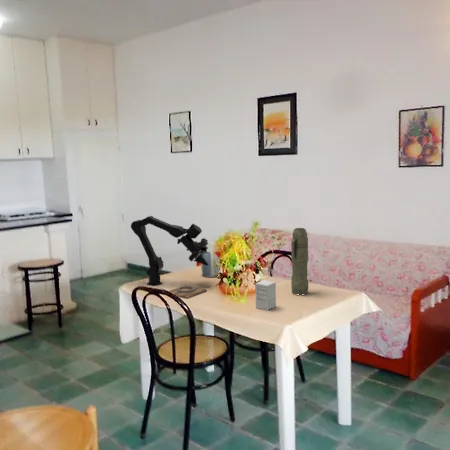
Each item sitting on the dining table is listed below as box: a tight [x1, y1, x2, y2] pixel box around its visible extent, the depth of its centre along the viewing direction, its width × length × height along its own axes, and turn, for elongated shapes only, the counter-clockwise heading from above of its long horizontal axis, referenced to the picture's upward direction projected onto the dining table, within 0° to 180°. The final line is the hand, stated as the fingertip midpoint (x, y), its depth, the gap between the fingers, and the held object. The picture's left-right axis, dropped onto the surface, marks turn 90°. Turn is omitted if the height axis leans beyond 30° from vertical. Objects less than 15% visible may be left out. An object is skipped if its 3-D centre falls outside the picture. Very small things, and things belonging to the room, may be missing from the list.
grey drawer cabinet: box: [255, 279, 277, 311], centre depth 239 cm, size 7×7×13 cm
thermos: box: [290, 227, 309, 296], centre depth 260 cm, size 9×12×35 cm
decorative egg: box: [200, 251, 221, 278], centre depth 303 cm, size 12×12×15 cm
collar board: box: [169, 284, 208, 300], centre depth 268 cm, size 16×16×2 cm
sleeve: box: [201, 251, 212, 277], centre depth 277 cm, size 5×5×13 cm
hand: (208, 264), depth 277 cm, fingers closed on sleeve, 5 cm apart
